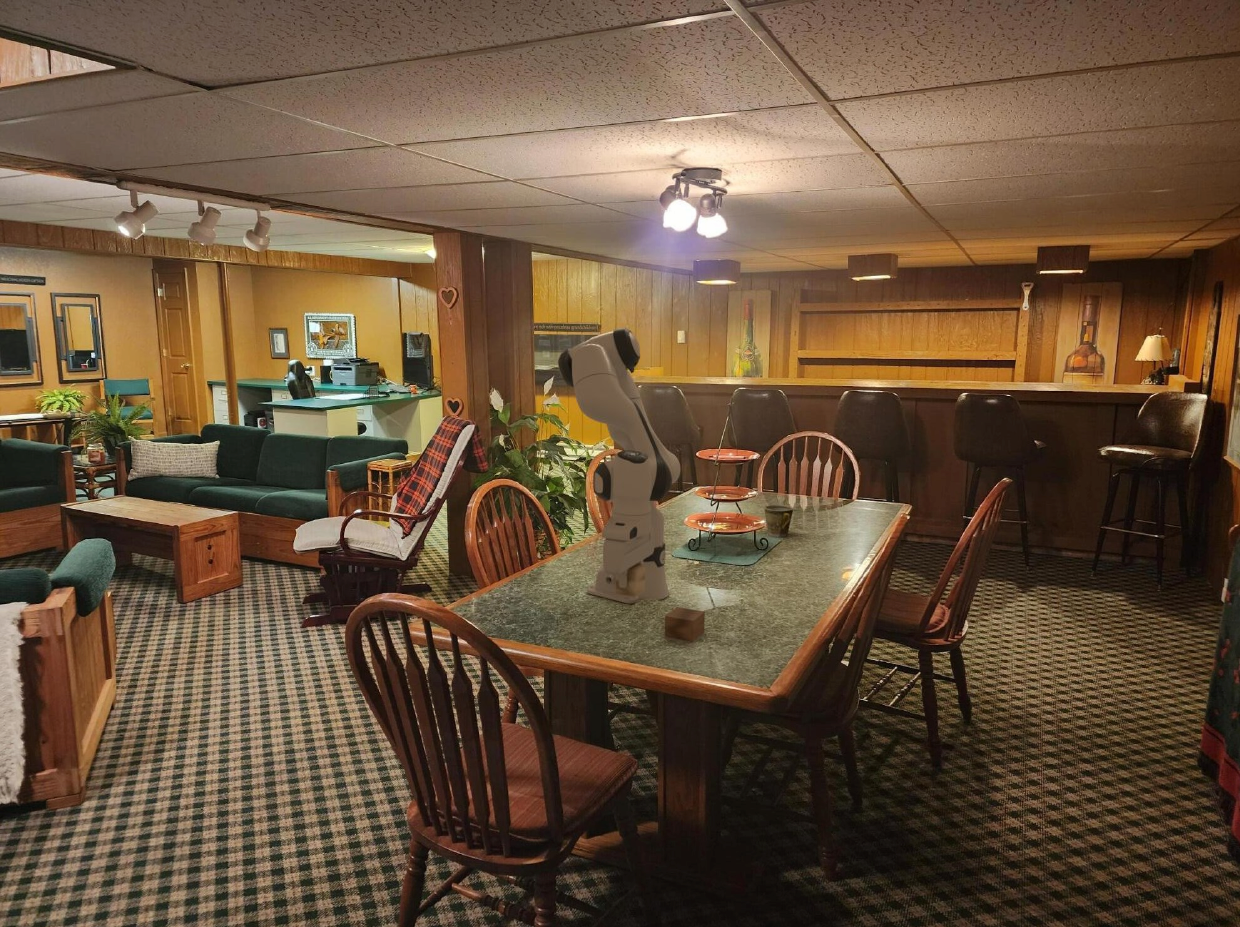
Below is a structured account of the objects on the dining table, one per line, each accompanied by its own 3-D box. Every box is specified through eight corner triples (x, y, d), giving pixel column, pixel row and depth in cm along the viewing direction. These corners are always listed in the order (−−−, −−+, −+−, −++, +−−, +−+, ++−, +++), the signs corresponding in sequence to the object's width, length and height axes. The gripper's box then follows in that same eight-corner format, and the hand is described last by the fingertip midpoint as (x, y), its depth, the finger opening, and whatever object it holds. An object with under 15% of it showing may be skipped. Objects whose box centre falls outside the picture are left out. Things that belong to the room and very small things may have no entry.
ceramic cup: (758, 532, 289) (759, 505, 288) (783, 531, 292) (784, 504, 291) (776, 541, 277) (777, 513, 276) (801, 539, 280) (802, 511, 279)
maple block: (615, 593, 181) (615, 567, 180) (624, 587, 186) (625, 562, 185) (635, 596, 179) (636, 571, 178) (644, 590, 184) (645, 565, 182)
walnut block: (664, 636, 184) (665, 615, 184) (676, 627, 190) (676, 606, 190) (693, 641, 181) (693, 620, 180) (704, 632, 187) (704, 611, 187)
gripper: (637, 512, 190) (635, 568, 193) (598, 531, 172) (597, 593, 174) (661, 515, 188) (660, 572, 190) (624, 535, 169) (623, 598, 172)
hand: (629, 582), depth 182 cm, fingers closed on maple block, 5 cm apart
